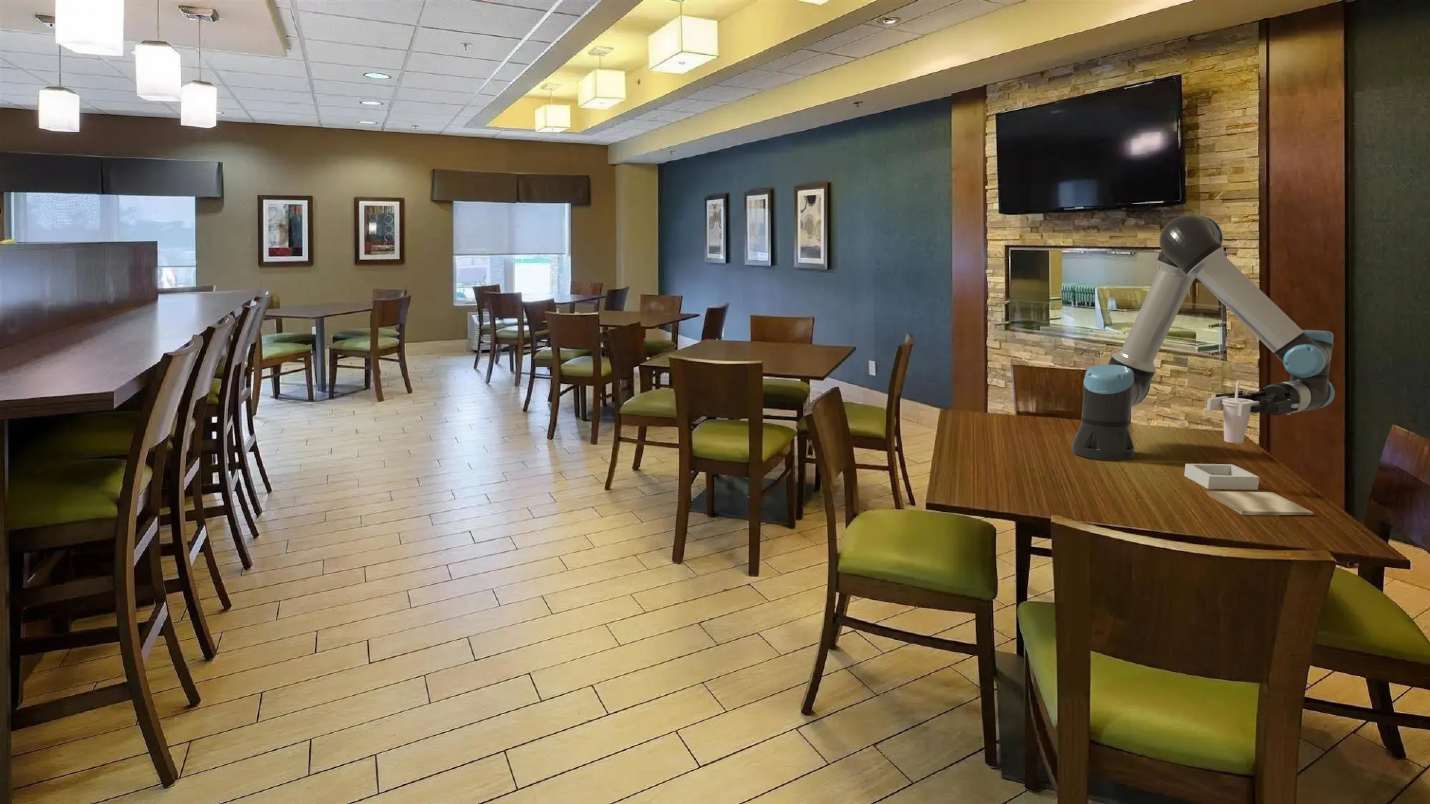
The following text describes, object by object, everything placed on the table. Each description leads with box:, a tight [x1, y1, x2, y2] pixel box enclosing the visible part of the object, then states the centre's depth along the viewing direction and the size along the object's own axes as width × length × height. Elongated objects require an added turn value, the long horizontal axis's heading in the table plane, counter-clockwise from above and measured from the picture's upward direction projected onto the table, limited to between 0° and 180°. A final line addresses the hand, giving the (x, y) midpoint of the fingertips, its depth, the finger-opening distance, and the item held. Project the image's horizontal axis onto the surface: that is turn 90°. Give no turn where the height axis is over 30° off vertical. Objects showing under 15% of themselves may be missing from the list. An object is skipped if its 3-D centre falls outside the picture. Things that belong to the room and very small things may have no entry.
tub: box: [1183, 463, 1260, 491], centre depth 191 cm, size 11×11×3 cm
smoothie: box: [1222, 380, 1254, 444], centre depth 186 cm, size 6×6×14 cm
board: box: [1206, 490, 1314, 516], centre depth 175 cm, size 14×14×1 cm
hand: (1224, 407), depth 183 cm, fingers closed on smoothie, 6 cm apart
